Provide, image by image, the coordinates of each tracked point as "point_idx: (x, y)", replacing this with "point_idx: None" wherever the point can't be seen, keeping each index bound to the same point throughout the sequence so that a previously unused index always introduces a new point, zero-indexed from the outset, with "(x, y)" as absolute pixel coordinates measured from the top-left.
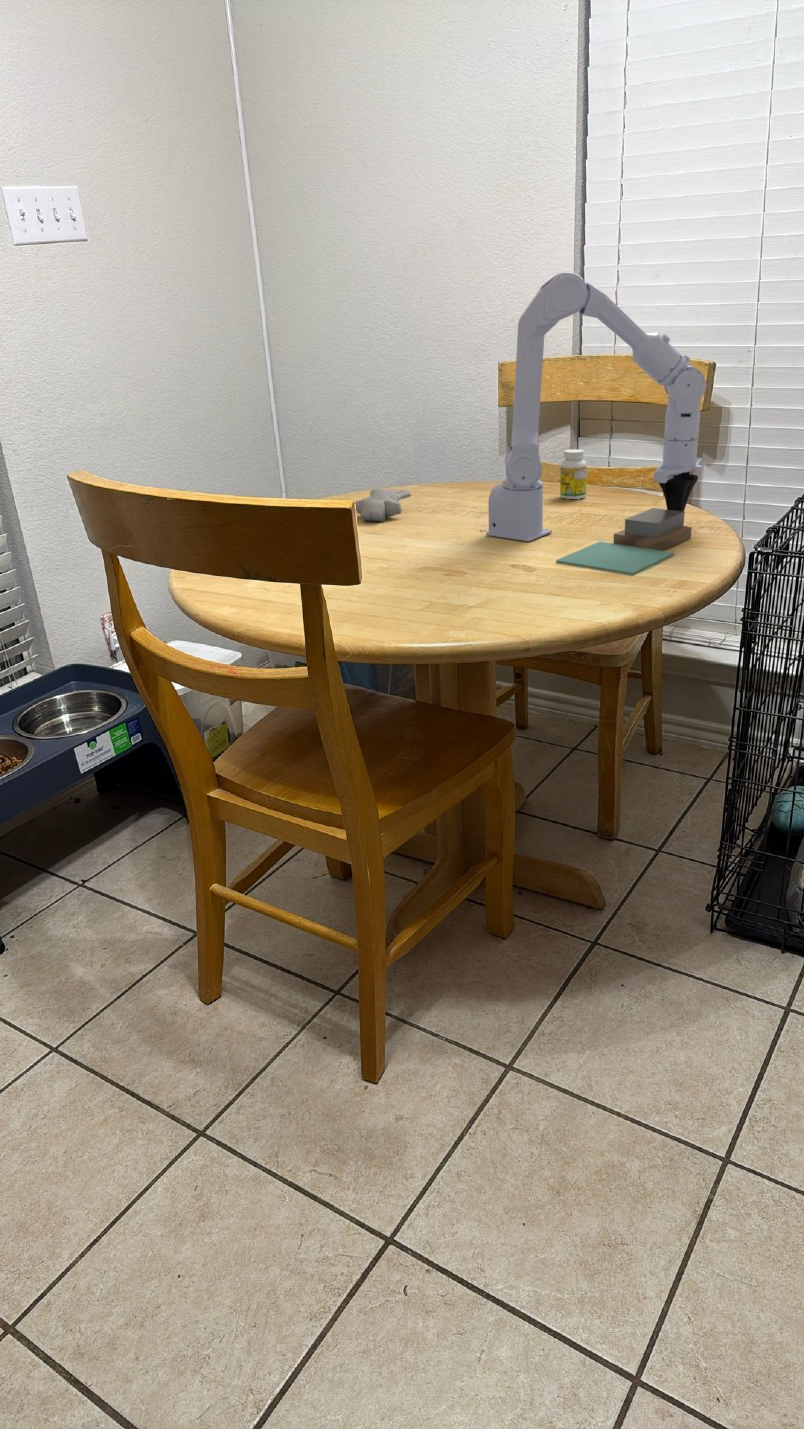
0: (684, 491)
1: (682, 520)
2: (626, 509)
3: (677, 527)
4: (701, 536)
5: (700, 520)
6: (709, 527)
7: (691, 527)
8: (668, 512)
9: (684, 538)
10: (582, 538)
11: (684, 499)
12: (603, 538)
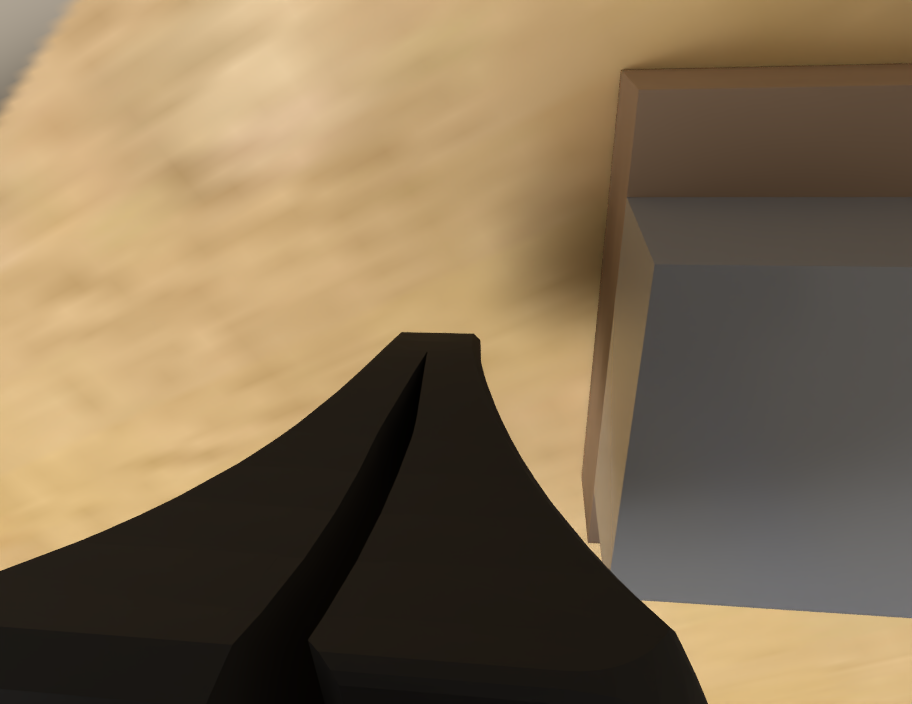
0: (517, 522)
1: (685, 221)
2: None
3: (796, 201)
4: (486, 6)
5: (4, 290)
6: (127, 115)
7: (639, 88)
8: (785, 413)
9: (790, 70)
10: (902, 677)
11: (426, 430)
12: None
